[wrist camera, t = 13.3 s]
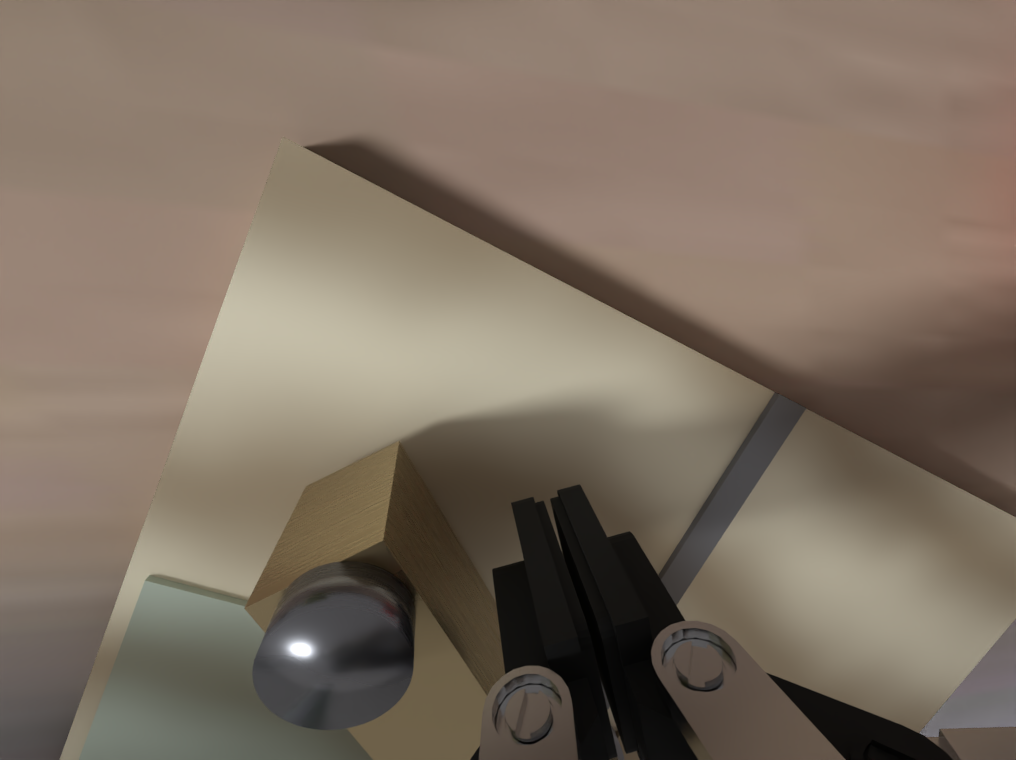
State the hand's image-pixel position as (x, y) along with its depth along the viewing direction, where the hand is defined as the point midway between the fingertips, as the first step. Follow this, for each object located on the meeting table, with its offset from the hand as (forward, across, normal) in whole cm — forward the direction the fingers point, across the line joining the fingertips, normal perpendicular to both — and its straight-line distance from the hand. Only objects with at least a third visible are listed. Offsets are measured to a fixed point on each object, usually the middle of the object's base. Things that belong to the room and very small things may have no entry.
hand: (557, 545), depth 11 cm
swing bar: (+1, +3, +4) cm, 5 cm away
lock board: (+3, +2, +10) cm, 10 cm away
